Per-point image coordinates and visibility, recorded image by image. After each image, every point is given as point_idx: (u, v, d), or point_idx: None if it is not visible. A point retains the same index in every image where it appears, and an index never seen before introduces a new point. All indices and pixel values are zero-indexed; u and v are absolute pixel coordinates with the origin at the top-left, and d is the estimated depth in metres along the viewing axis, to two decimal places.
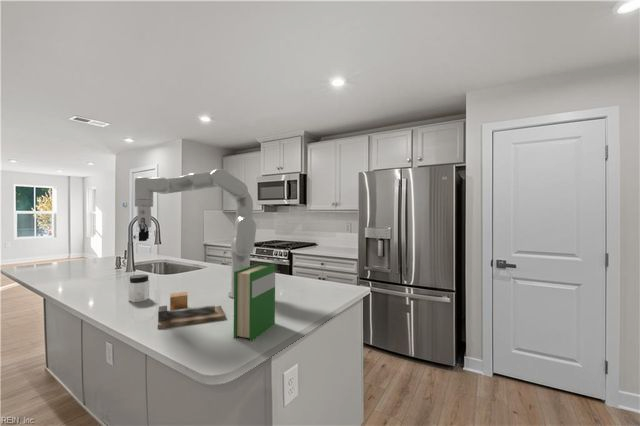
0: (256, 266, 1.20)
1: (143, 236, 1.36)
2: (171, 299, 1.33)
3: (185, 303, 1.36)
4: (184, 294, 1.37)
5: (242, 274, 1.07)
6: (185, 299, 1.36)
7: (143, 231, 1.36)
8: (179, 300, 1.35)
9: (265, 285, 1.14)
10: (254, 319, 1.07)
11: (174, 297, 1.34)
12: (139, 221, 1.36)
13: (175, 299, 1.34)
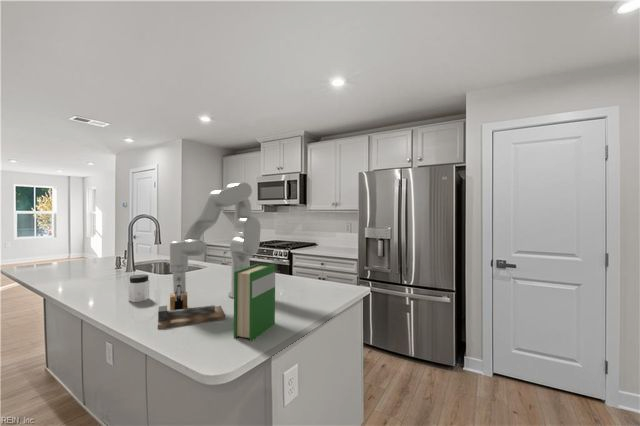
0: (256, 266, 1.20)
1: (179, 305, 1.34)
2: (171, 299, 1.33)
3: (185, 303, 1.36)
4: (184, 294, 1.37)
5: (242, 274, 1.07)
6: (185, 299, 1.36)
7: (179, 300, 1.33)
8: None
9: (265, 285, 1.14)
10: (254, 319, 1.07)
11: (174, 297, 1.34)
12: (175, 288, 1.32)
13: (175, 299, 1.34)
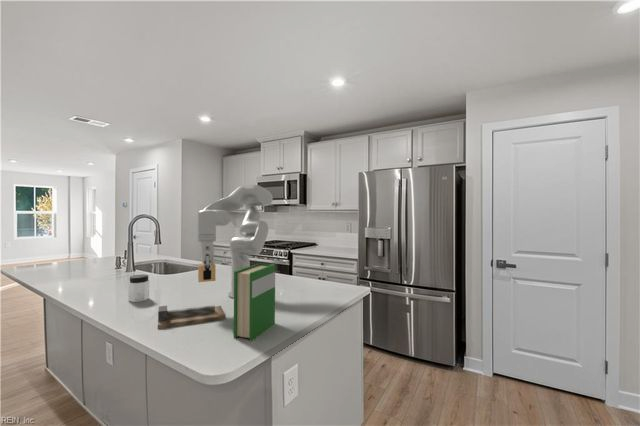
0: (256, 266, 1.20)
1: (208, 275, 1.31)
2: (199, 268, 1.31)
3: (213, 273, 1.33)
4: (212, 264, 1.35)
5: (242, 274, 1.07)
6: (213, 269, 1.33)
7: (208, 270, 1.31)
8: None
9: (265, 285, 1.14)
10: (254, 319, 1.07)
11: (202, 266, 1.32)
12: (204, 258, 1.30)
13: (203, 269, 1.32)
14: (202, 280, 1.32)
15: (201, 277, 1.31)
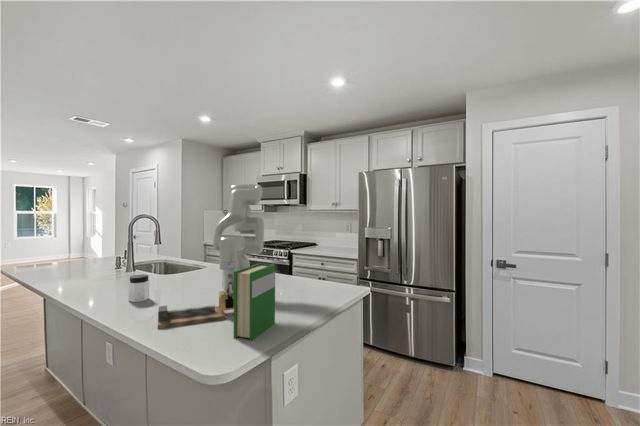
0: (256, 266, 1.20)
1: (230, 303, 1.30)
2: (222, 297, 1.29)
3: None
4: (233, 292, 1.33)
5: (242, 274, 1.07)
6: None
7: (230, 298, 1.29)
8: None
9: (265, 285, 1.14)
10: (254, 319, 1.07)
11: (224, 295, 1.30)
12: (226, 286, 1.28)
13: (225, 297, 1.30)
14: (224, 309, 1.30)
15: (223, 306, 1.30)
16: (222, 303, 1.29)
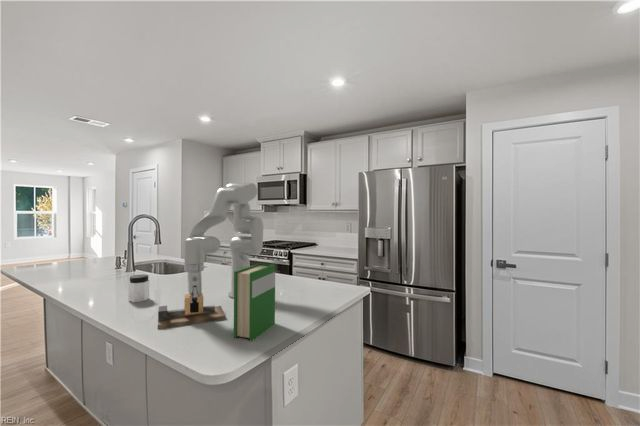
0: (256, 266, 1.20)
1: (195, 307, 1.23)
2: (186, 301, 1.23)
3: (201, 305, 1.26)
4: (199, 295, 1.27)
5: (242, 274, 1.07)
6: (201, 301, 1.26)
7: (195, 302, 1.23)
8: None
9: (265, 285, 1.14)
10: (254, 319, 1.07)
11: (189, 298, 1.24)
12: (191, 289, 1.22)
13: (190, 301, 1.24)
14: (189, 313, 1.24)
15: (188, 310, 1.23)
16: (186, 307, 1.23)
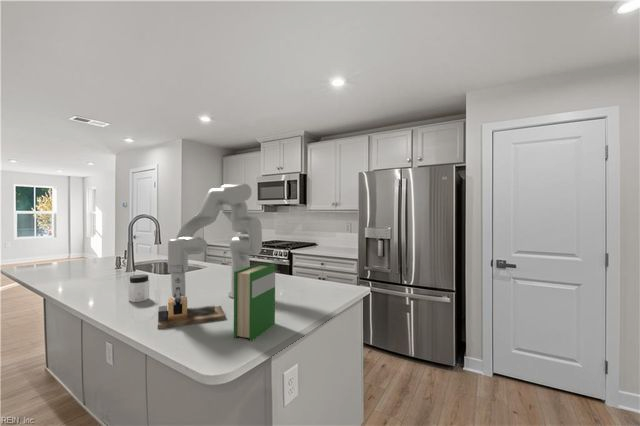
0: (256, 266, 1.20)
1: (178, 309, 1.20)
2: (169, 305, 1.20)
3: (185, 309, 1.23)
4: (183, 299, 1.24)
5: (242, 274, 1.07)
6: (185, 305, 1.23)
7: (178, 303, 1.20)
8: None
9: (265, 285, 1.14)
10: (254, 319, 1.07)
11: (172, 303, 1.21)
12: (174, 291, 1.19)
13: None
14: (172, 317, 1.21)
15: (171, 314, 1.21)
16: (170, 312, 1.21)
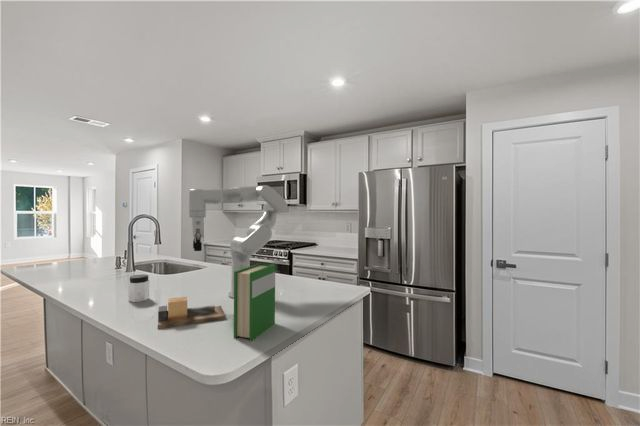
0: (256, 266, 1.20)
1: (198, 246, 1.41)
2: (169, 305, 1.20)
3: (185, 309, 1.23)
4: (183, 299, 1.24)
5: (242, 274, 1.07)
6: (185, 305, 1.23)
7: (198, 241, 1.40)
8: (178, 306, 1.22)
9: (265, 285, 1.14)
10: (254, 319, 1.07)
11: (172, 303, 1.21)
12: (194, 232, 1.41)
13: (174, 305, 1.21)
14: (172, 317, 1.21)
15: (171, 314, 1.21)
16: (170, 312, 1.21)
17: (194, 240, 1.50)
